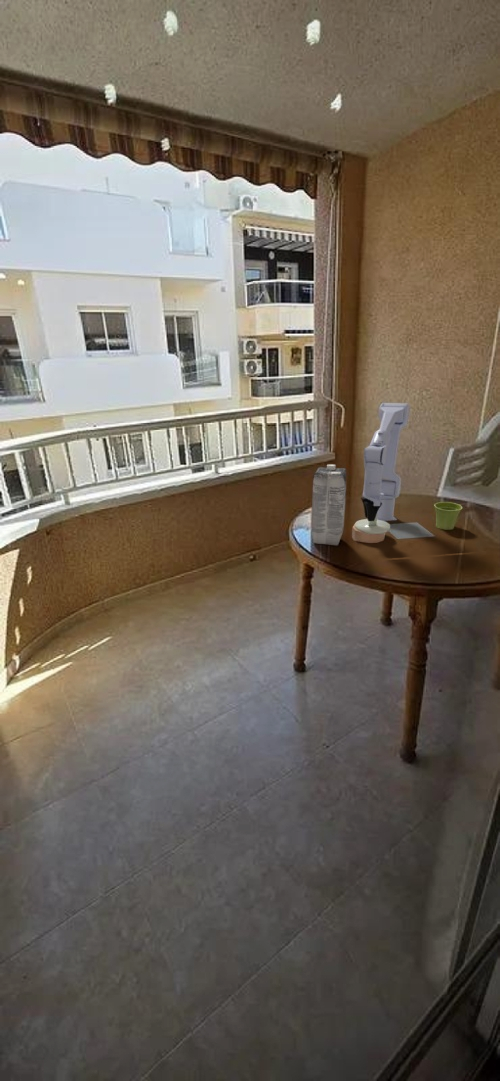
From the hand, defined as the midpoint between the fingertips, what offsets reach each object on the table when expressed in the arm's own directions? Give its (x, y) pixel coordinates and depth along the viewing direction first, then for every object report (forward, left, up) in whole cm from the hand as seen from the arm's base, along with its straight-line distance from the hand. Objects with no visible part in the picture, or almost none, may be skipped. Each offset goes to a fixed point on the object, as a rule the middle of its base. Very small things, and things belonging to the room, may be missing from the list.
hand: (369, 519), depth 153 cm
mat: (-3, +16, -7) cm, 18 cm away
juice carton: (0, -15, -7) cm, 17 cm away
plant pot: (-4, +31, -8) cm, 32 cm away
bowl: (0, 0, -7) cm, 7 cm away
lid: (0, +1, -3) cm, 3 cm away
